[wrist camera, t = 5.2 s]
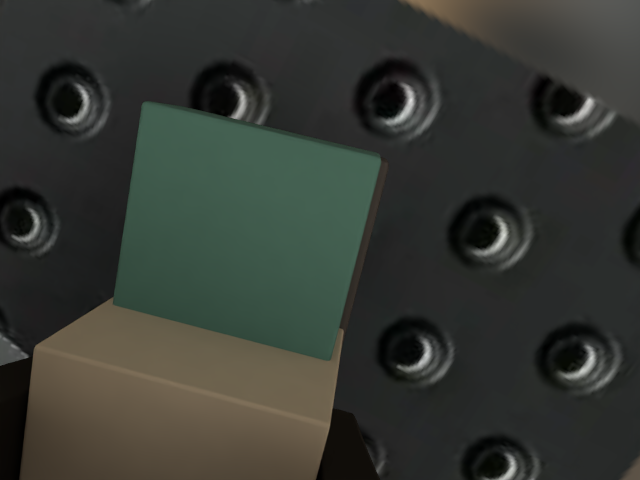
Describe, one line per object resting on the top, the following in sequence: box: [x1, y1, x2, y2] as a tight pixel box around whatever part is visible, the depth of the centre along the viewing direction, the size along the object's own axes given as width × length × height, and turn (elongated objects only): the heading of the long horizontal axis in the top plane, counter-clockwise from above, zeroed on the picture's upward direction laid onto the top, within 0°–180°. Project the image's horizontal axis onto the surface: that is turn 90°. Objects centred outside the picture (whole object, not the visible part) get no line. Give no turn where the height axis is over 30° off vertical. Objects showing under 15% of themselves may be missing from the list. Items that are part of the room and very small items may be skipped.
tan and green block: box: [19, 101, 389, 480], centre depth 9 cm, size 11×4×5 cm, turn 167°
